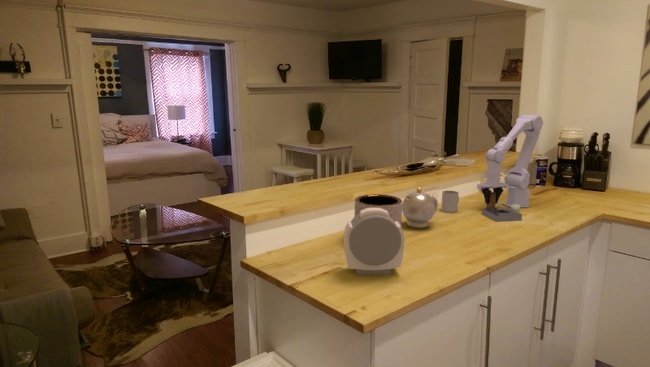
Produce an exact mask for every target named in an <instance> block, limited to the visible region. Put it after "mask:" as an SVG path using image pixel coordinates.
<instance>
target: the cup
mask: <svg viewBox="0 0 650 367" xmlns="http://www.w3.org/2000/svg"><path fill="white" fill-rule="evenodd" d="M441 192H442V193H441V196H442V197H441V212H444V213H448V214H449V213H450V214H453V213H454V214H455V213H457V212H458V206H459V205H458V204H459V202H460V195H459V192H458V191H455V190H442V191H441Z"/></svg>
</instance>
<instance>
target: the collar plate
mask: <svg viewBox="0 0 650 367" xmlns="http://www.w3.org/2000/svg"><path fill="white" fill-rule="evenodd" d="M481 214H482V216H483V215H484V216H485V217H487V218H489V219H491V220H492V221H494V222H508V221H510V222H511V221H522V220H523V219H522V218H523V214H521V213H518V212H515V211H513V210H511V208H510V207H508V206H507V207H506V206H505V207H503V206H502V207H495V208H487V207H486V208H481Z"/></svg>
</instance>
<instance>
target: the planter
mask: <svg viewBox="0 0 650 367" xmlns="http://www.w3.org/2000/svg"><path fill="white" fill-rule="evenodd" d="M402 203H403V200H402V199H401V198H400V197H398V196H394V195H390V194H389V195H388V194H377V193H376V194H375V193H374V194H373V193H372V194H364V195H359V196H357V197H356V198H354V216H353V218H354V217H355V216H356V215H358V214H359V213H360V211H361V210H364V209H366V208H382V209H384V210H387V212H388V213H389V216H390V217H391V218H392V219H393V221H394V222H396V221H398V223H399V224H400V226H401V228H403V227H402V222H403V221H402V220H403V219H402V218H403V213H402Z"/></svg>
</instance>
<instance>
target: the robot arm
mask: <svg viewBox="0 0 650 367" xmlns="http://www.w3.org/2000/svg"><path fill="white" fill-rule="evenodd" d="M515 120H516V121H515V124H514V126H513V127H512V129H511V130H510V131H509V133H508V134H507V135H506V136H502V137H501V138H500V139H499V141H498V142H497V143H496V144H495V145H494V147H492V148H490V149H489V150H487V151H486V154H485V156H484V157H485V160H486V164H487V170H486V172H487V173H486V183H485V182H484V183H480V184H478V183H477V185H476V188H477V190H481V192H482V195H483V198H484V202H485V203H484V204H486V205H487V204H489V200H490V194H491V192H492V190H493V192H494V193H496V201H495V205H496V204H498V201H499V199H500V198H501V195H502V194H503V193H504V190H505V189H507V197H506V202H502V204H503V205H505V207H506V206H507V207H508V208H511V206H512V204H518V205H520V208H529V207H530V205H529V203H530V190H529V188H528V186H529V184H530V177H531V174H530V173H529V171H528V167H529V165H530V162H531V159H532V156H533V153H534V150H535V148H536V145H537V142H538V139H539V137H540V133H541V130H542V128H543V125H544V121H543V118H542V116H541V115H539V114H536V115H535V114H523V113H522V114H520V115H519V116H518V118H516V119H515ZM521 133H524V134H525V136H524V137H525V138H524V139H523V140H524V141H523V143H522V146H521V149H520V151H519V154H518V157H517V160H516V163H515V165H514V167H512V168H510V169H509V171H508V173H507V174H506V175H505V178H504V182H500V181H501V170H502V169H501V168H502V162H503V161H504V160H505V159H506V158H505V157H506V155H507V152H508V151H509V150H510V148H512V147H513V145H514V143H513V142H514V141H515V139H516V138H518V137H519V136H520V135H521ZM491 189H492V190H491Z"/></svg>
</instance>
